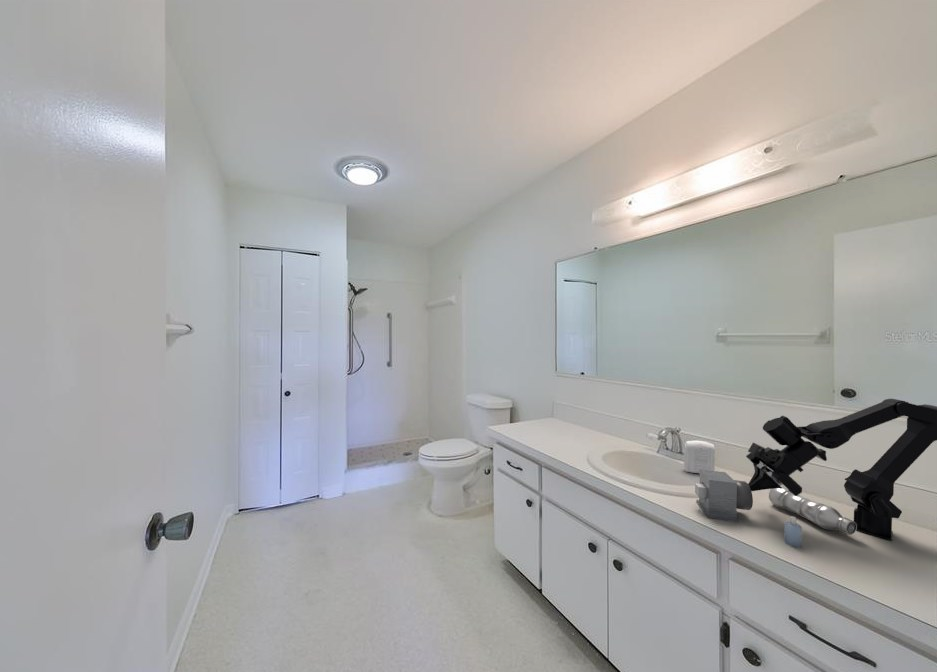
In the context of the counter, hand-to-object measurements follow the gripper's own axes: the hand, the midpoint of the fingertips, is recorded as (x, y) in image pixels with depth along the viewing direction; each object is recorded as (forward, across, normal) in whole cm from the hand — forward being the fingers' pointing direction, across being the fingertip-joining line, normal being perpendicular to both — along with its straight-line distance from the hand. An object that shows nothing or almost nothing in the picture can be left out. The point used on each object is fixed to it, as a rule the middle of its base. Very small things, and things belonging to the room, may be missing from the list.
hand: (747, 489), depth 105 cm
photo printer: (+8, -32, +4) cm, 33 cm away
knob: (+9, 0, -1) cm, 9 cm away
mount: (+11, 0, 0) cm, 11 cm away
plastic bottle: (-5, -12, +12) cm, 17 cm away
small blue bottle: (+2, +13, +9) cm, 16 cm away
